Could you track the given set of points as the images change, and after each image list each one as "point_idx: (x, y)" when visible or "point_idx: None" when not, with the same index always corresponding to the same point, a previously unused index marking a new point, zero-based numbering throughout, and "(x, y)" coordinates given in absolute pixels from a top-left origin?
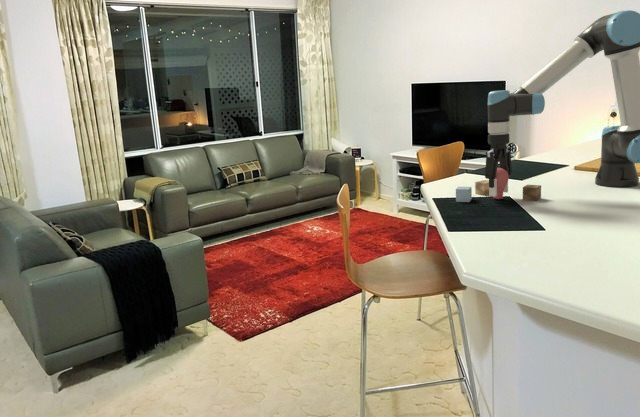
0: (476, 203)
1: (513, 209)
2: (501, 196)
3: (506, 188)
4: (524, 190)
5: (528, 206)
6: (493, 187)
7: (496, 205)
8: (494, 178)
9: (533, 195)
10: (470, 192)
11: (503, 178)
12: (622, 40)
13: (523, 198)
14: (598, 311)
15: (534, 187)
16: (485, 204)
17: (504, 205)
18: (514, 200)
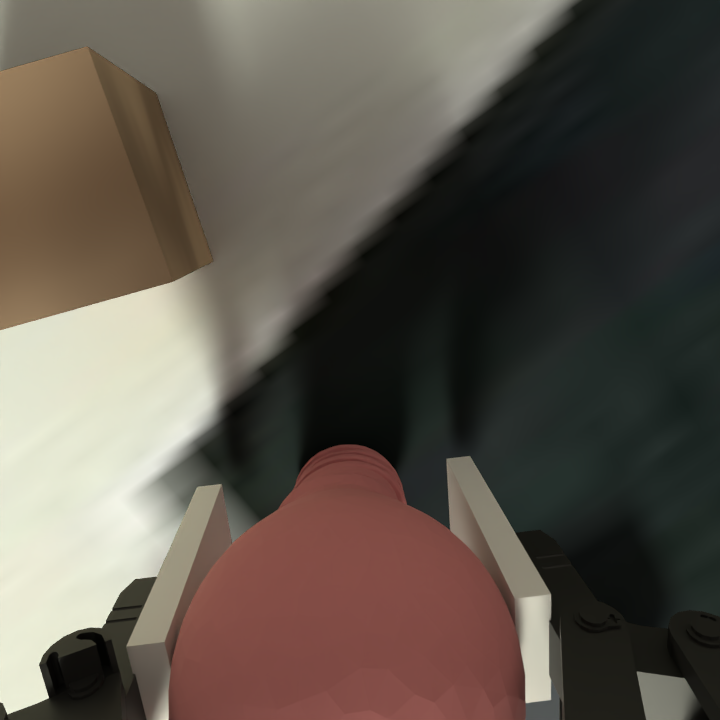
0: (605, 525)
1: (660, 63)
2: (357, 450)
3: (213, 517)
4: (177, 249)
5: (448, 4)
6: (520, 533)
7: (585, 327)
8: (588, 608)
9: (148, 122)
10: (558, 704)
11: (424, 535)
12: None
13: (206, 252)
14: None
15: (78, 104)
16: (600, 437)
17: (544, 261)
18: (285, 320)
